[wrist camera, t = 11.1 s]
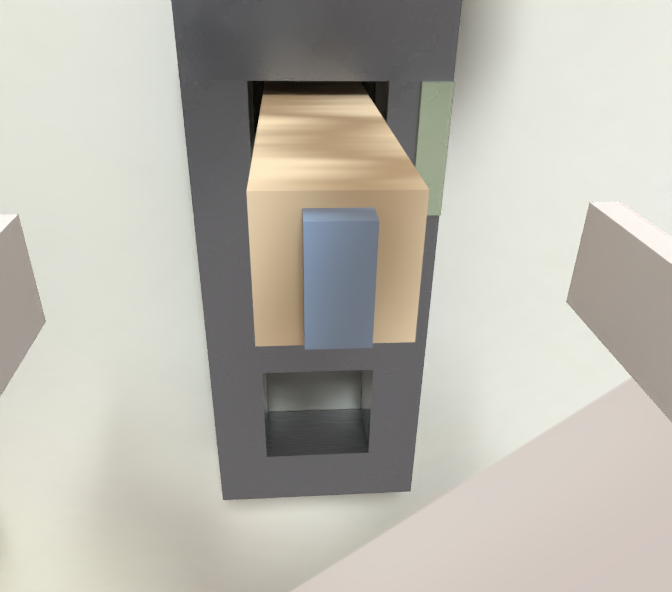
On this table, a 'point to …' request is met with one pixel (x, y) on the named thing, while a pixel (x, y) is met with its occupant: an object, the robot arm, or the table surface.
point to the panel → (233, 232)
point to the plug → (332, 221)
